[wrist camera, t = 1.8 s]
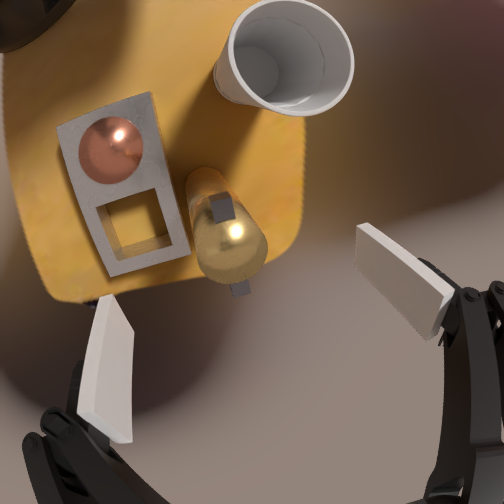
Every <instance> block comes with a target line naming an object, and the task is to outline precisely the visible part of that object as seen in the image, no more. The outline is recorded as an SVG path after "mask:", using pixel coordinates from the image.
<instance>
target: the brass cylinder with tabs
mask: <svg viewBox="0 0 504 504" xmlns="http://www.w3.org/2000/svg"><path fill="white" fill-rule="evenodd" d="M185 190H186V197H187V203H188V210H189V216H190V222H191V227H192V233H193V239H194V244H195V250H196V255H197V260H198V264H199V267H200V269H201V270H202V272H203V273H204V274H205V275H206V276H207V277H208V278H210V279H211V280H214V281H216V282H219V283H224V284H230V288H231V291H232V294H233V297H234V298H236V297H239V296H243V295H246V294H250V293H251V292H250V287H249V282H248V278H250V277H252V276H253V275H254V274H255V273H257V272H258V271H259V269H260V268H261V267H262V265H263V264H264V262H265V260H266V257H267V252H268V245H267V240H266V238H265V236H264V234H263V233H262V231H261V230H260V228H259V227H258V225H257V224H256V223H255V221H254V220H253V218H252V217H251V216H250V214H249V213H248V211H247V210H246V209H245V207H244V206H243V204H242V203H241V201H240V200H239V199H238V197H237V196H236V195H235V193H234V192H233V190H232V189H231V188H230V186H229V185H228V183H227V182H226V181H225V179H224V178H223V176H222V175H221V174H220V173H219V172H218V171H217V170H216V169H214V168H211V167H201V168H198V169H196V170H194V171H193V172H192V173H191V174H190V175H189V176H188V178H187V180H186V183H185Z"/></svg>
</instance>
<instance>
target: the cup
mask: <svg viewBox="0 0 504 504" xmlns="http://www.w3.org/2000/svg"><path fill="white" fill-rule="evenodd" d="M353 73H354V55H353V50H352V47H351V44H350V41H349V39H348V37H347V35H346V33H345V31H344V30H343V28H342V27H341V26H340V24H339V23H338V22H337V21H336V20H335V19H334V18H333V17H332V16H331V15H330V14H329V13H327V12H326V11H325V10H323V9H321V8H320V7H318V6H316V5H314V4H312V3H310V2H307V1H304V0H263V1H260V2H258V3H256V4H254V5H252V6H250V7H249V8H248V9H246V10H245V11H244V12H243V13H242V14H241V15H240V16H239V17H238V18H237V20H236V21H235V23H234V25H233V26H232V29H231V31H230V34H229V36H228V38H227V41H226V43H225V46H224V48H223V50H222V52H221V55H220V57H219V59H218V60H217V62H216V64H215V66H214V70H213V80H214V83H215V86H216V88H217V90H218V91H219V92H220V94H221V95H222V96H223V97H225V98H226V99H227V100H229V101H231V102H234V103H237V104H242V105H251V106H256V107H260V108H263V109H267V110H270V111H273V112H276V113H280V114H283V115H288V116H298V117H302V116H311V115H315V114H318V113H321V112H324V111H326V110H328V109H330V108H331V107H333V106H334V105H335V104H337V103H338V102H339V101H340V100H341V99H342V97H343V96H344V95H345V93H346V92H347V90H348V89H349V86H350V84H351V81H352V78H353Z"/></svg>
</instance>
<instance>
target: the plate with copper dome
mask: <svg viewBox="0 0 504 504" xmlns="http://www.w3.org/2000/svg"><path fill="white" fill-rule="evenodd" d="M56 130H57V134H58V138H59V142H60V146H61V150H62V153H63V157H64V160H65V164H66V167H67V170H68V173H69V177H70V180H71V183H72V186H73V189H74V192H75V194H76V197H77V200H78V203H79V205H80V208H81V211H82V213H83V216H84V219H85V221H86V224H87V226H88V228H89V231H90V233H91V236H92V238H93V240H94V243H95V245H96V247H97V249H98V252H99V254H100V256H101V258H102V260H103V263H104V265H105V267H106V269H107V271H108V273H109V275H110V277H113V276H117V275H120V274H124V273H127V272H131V271H134V270H137V269H141V268H144V267H148V266H151V265H155V264H158V263H162V262H166V261H169V260H173V259H176V258H180V257H183V256H187V255H190V254H191V247H190V241H189V237H188V234H187V231H186V227H185V224H184V220H183V217H182V213H181V210H180V206H179V202H178V199H177V195H176V191H175V188H174V184H173V180H172V176H171V172H170V168H169V164H168V160H167V156H166V152H165V148H164V144H163V140H162V135H161V131H160V126H159V122H158V117H157V113H156V108H155V103H154V99H153V94H152V93H151V92H150V91H149V92H145V93H142V94H139V95H136V96H132V97H129V98H126V99H123V100H120V101H118V102H115V103H112V104H109V105H106V106H104V107H101V108H99V109H96V110H94V111H91V112H89V113H86V114H84V115H82V116H79V117H77V118H75V119H73V120H70V121H68V122H66V123H64V124H62V125H60V126H58V127H56ZM152 188H155V190H156V193H157V197H158V200H159V203H160V207H161V210H162V213H163V216H164V220H165V223H166V226H167V229H168V232H169V233H168V234H165V235H162V236H158V237H155V238H151V239H148V240H145V241H141V242H138V243H135V244H131V245H128V246H125V247H121V245H120V242H119V240H118V237H117V235H116V232H115V230H114V227H113V225H112V222H111V219H110V217H109V214H108V211H107V208H106V206H105V204H106V203H109V202H112V201H115V200H118V199H121V198H124V197H127V196H130V195H133V194H136V193H139V192H142V191H146V190H149V189H152Z"/></svg>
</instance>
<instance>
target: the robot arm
mask: <svg viewBox="0 0 504 504" xmlns="http://www.w3.org/2000/svg"><path fill="white" fill-rule="evenodd" d="M74 1H75V0H0V53H5V52H10V51H13V50H15V49H18V48H20V47H22V46H24V45H26V44H27V43H29V42H31V41H32V40H34V39H35V38H37V37H38V36H39V35H41V34H42V33H43V32H45V31H46V30H47V29H48V28H49V27H50V26H52V25H53V24H54V23H55V22H56V21H57V20H58V19H59V18H60V17H61V16H62V15H63V14H64V13H65V12H66V10H67V9H68V8H69V7H70V6H71V5H72V3H73V2H74ZM356 227H357V228H356V252H355V268H356V269H357V270H358V271H359V272H360V273H361V274H362V275H363V276H364V277H365V278H366V279H367V280H368V281H369V282H370V283H371V284H372V285H373V286H374V287H375V288H376V289H377V290H378V291H379V292H380V293H381V294H382V295H383V296H384V297H385V298H386V299H387V300H388V301H389V302H390V303H391V304H392V305H393V306H394V307H395V308H396V310H397V311H398V312H399V313H400V314H401V315H402V316H403V317H404V318H405V319H406V320H407V321H408V322H409V323H410V324H411V325H412V326H413V328H414V329H415V330H416V331H417V332H418V333H419V334H420V335H421V336H422V337H423V338H424V340H425V341H428V340H430V339H431V338H433V337H434V336H436V335H437V334H438V331H439V329H440V327H441V326H442V327H443V328H444V329H445V330H444V332H443V334H442V336H441V339H440V341H439V344H438V346H440V345H441V343H442V341H443V342H444V345H443V346H444V402H443V416H442V427H441V436H440V444H439V450H438V456H437V462H436V466H435V468H434V471H433V472H432V474H431V475H430V477H429V480H428V482H427V486H426V489H425V493H424V497H423V499H420V500H417V501H414V502H410V503H407V504H504V501H503V500H504V443H503V442H502V441H501V417H502V421H503V426H504V283H503V282H501V281H493V282H492V283H491V284H490V287H489V290H487V291H483V292H479V291H478V290H476V289H474V288H471V287H465V288H463V289H462V288H461V287H459V286H458V285H457V284H456V283H455V282H453V281H452V280H451V279H450V278H449V277H447V276H446V275H445V274H444V273H441V271H440V270H439V269H436V267H435V266H434V265H432V264H431V263H430V262H428V261H426V260H424V259H421V258H415V257H414V256H413V255H412V254H410V253H409V252H407V251H406V250H405V249H404V248H402V247H401V246H399V245H398V244H397V243H396V242H394V241H393V240H391V239H390V238H389V237H387V236H386V235H384V234H383V233H382V232H380V231H379V230H377V229H376V228H374V227H373V226H371V225H370V224H369V223H364V224H361V225H357V226H356ZM498 320H500V322H501V326H500V327H499V328H498V326H497V322H498ZM133 341H134V331H133V329H132V327H131V326H130V324H129V322H128V321H127V319H126V317H125V316H124V314H123V312H122V310H121V309H120V307H119V305H118V303H117V301H116V299H115V297H114V296H113V294H110V295H106V296H103V297H100V299H99V302H98V306H97V309H96V313H95V317H94V321H93V325H92V329H91V334H90V338H89V342H88V347H87V352H86V357H85V360H81V361H78V362H77V364H76V366H75V368H74V370H73V373H72V379H71V381H72V382H71V384H70V390H69V395H68V402H67V409H66V413H65V412H64V411H63V410H62V409H60V408H58V407H51V408H49V409H47V410H46V411H45V412H44V414H43V415H42V418H41V422H40V427H41V430H42V432H44V433H45V434H46V435H47V436H44V437H42V436H40V435H39V434H37V433H35V432H30V433H28V434H27V435H26V436H25V438H24V440H23V443H22V450H23V455H24V459H25V463H26V467H27V471H28V474H29V478H30V481H31V484H32V487H33V490H34V493H35V496H36V499H37V502H38V504H170V503H169V502H168V501H166V500H165V499H164V498H163V497H162V496H161V495H159V494H158V493H157V492H156V491H155V490H154V489H153V488H151V487H150V486H149V485H148V484H147V483H146V482H145V481H144V480H143V479H142V478H141V477H140V476H139V475H138V474H137V473H136V472H135V471H134V470H133V469H132V468H131V467H130V466H129V465H128V464H127V463H126V462H125V461H124V460H123V459H122V458H121V457H120V456H119V454H118V453H117V452H116V451H115V450H114V449H113V448H112V447H111V446H110V442H109V439H111V440H112V441H114V442H115V443H117V444H119V443H132V442H133V441H132V440H133V439H132V400H131V399H132V391H131V390H132V359H133ZM462 487H463V490H462V495H461V497H460V496H458V494H459V491H460V490H461V488H462Z"/></svg>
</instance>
